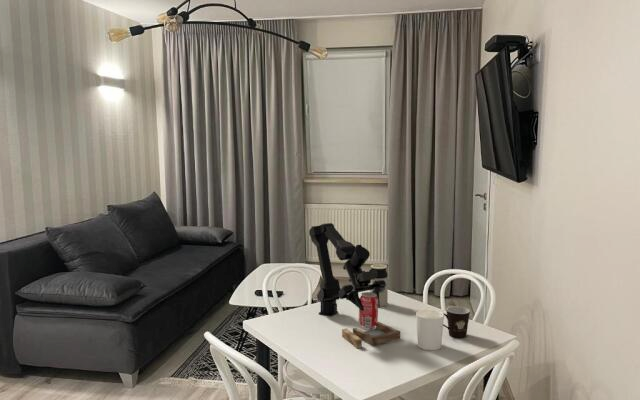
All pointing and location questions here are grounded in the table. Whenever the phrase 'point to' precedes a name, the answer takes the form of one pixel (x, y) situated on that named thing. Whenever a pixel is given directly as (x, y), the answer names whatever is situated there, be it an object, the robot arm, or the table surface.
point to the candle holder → (429, 329)
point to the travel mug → (381, 276)
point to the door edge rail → (352, 338)
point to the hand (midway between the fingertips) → (371, 309)
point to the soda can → (368, 310)
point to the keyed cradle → (378, 334)
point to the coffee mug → (457, 321)
